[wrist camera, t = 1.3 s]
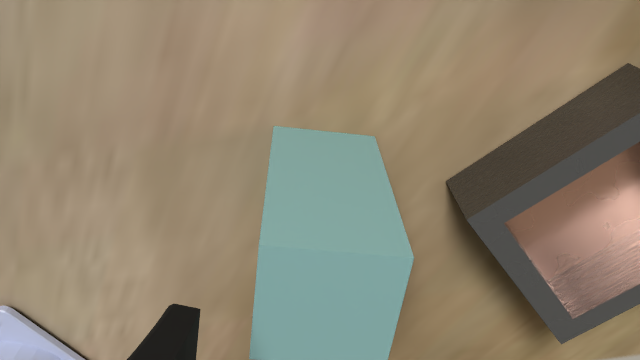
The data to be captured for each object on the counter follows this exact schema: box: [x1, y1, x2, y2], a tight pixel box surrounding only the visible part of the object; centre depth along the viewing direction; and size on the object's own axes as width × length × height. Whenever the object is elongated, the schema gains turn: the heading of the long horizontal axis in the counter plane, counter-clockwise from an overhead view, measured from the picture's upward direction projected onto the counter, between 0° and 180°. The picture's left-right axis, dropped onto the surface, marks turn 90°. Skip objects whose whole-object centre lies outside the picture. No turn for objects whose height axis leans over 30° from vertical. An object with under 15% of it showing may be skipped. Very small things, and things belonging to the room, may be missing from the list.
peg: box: [249, 126, 414, 360], centre depth 18 cm, size 4×4×8 cm
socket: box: [446, 63, 640, 344], centre depth 20 cm, size 8×8×3 cm
